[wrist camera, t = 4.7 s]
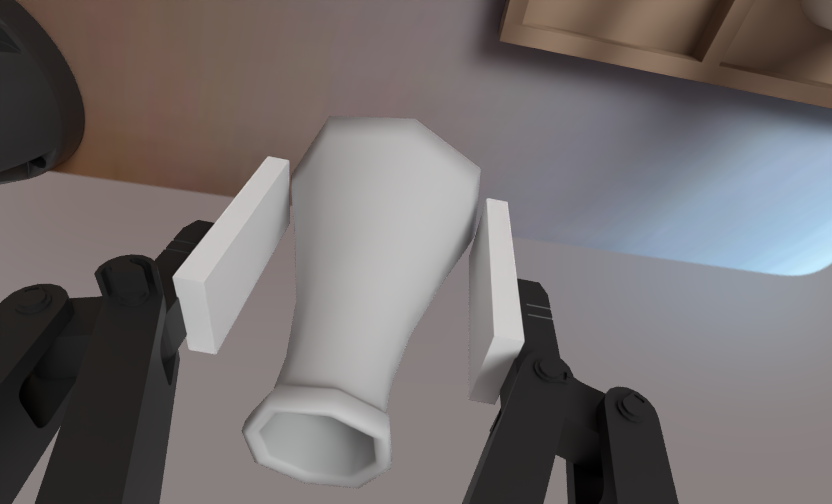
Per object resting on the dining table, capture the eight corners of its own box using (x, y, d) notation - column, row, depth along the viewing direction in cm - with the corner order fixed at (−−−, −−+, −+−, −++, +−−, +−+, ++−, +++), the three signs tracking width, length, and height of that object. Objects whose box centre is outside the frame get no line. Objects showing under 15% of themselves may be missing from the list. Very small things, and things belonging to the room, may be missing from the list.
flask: (442, 294, 20) (424, 550, 12) (280, 244, 19) (147, 484, 11) (515, 151, 16) (561, 405, 8) (310, 78, 15) (127, 279, 7)
